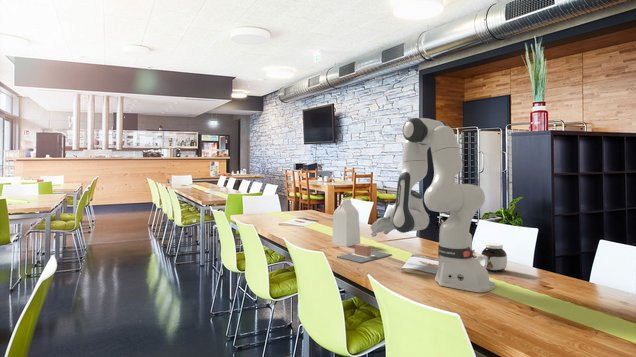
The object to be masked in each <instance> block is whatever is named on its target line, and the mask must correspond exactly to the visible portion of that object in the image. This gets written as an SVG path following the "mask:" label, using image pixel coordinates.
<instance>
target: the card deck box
mask: <svg viewBox="0 0 636 357" xmlns="http://www.w3.org/2000/svg"><path fill="white" fill-rule="evenodd" d="M371 250H372V245H370V244H369V245H368V244H364V243H361V242H360V243H359V244H355V245H354V252H355V254H357V255H361V256H366V257H367V256H371Z"/></svg>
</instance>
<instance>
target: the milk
mask: <svg viewBox="0 0 636 357" xmlns="http://www.w3.org/2000/svg"><path fill="white" fill-rule="evenodd" d="M332 216H333V217H332V235H331V236H332V238H331V244H332V245H337V246H341V247H352V246H355V244H359V243H360V244H361V232H360V230H361V229H360V214H359V211H358V209H357V208H356V207H355V205H353V204H352V200H351V198H348V199H347V198H346V199H341V202H340V204H339V206H337V208H335V210H334V211H333V215H332Z"/></svg>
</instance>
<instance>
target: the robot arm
mask: <svg viewBox="0 0 636 357" xmlns="http://www.w3.org/2000/svg"><path fill="white" fill-rule="evenodd" d="M402 135H403V137H404V139H405V141H404V144H403V146H402V147H403V148H402V160H401V162H402V166H401V172H400V174H399V177H398V180H397V188H396V195H395V196H396V197H395V203H394V204H392V205H391V206H390V208H389V209H388V210H387V211H386V212H385V216H384V217H379V218H377V219H376V220H375V221H374V222H373V223H372V224H371V225H370V230H371V231H372V233H371V234H370V235H371V237H374V238H375V237H376V236H377V235H378V233H383V234H384V235H388V234H389V233H391V232H392V231H394V230H396V231H397V232H399V233H401V234H402V233H403V234H406V233H409V232H416V231H423V230H425V229H427V228H428V226H429V224H430V216H429V214H428V212H427V211H426V209H425V207H426V208H427V209H428V210H429V211H432V212H436V213H437V212H438V213H449V216H448V217H447V219H446V220H445V221H444V222H442V223H441V224H440V226H439V244H438V249H437V250H438V252H437V254H438V265H437V270H436V271H437V272H436V274H435V278H434V280H435V281H436V283H438V285H439V286H441V287H447V288H451V289H458V290H463V291H468V292H472V293H473V292H474V293H487V292H489V291H492V290H493V289H495V288H496V283H495V282H494V281H490V276H489V271H487V269H486V268H485V267H483V266H482V265H481V264H480V263H479V262H478V261H477V260H476V259H475V257H474V253H475V251H476V250H475V249H472V250H471V249H470V247H469V233H470V230H471V229H470V228H471V224H472V220H473V218H474V216H475V215H476V213H477V212H478V210H480V208H482V207H483V205H484V203H485V201H486V200H485V199H486V196H485V191H483V188H481V187H480V185H479V186H478V185H476V184H471V183H456V176H457V175H458V174H459V173H460V172H461V171H462V170H463V160H462V155H461V150H460V147H459V143H458V139H457V137H456V134H455V132H454V130H453V128H452V127H450V126H449V124H448V123H446V122H444V121H443V120H435V119H431V118H425V117H421V118H419V117H413V118H412V117H411V118H409V119H407V120H406V121H405V122H404V124H403V126H402ZM429 149H430V152H431V159H432V164H433V172H434V173H433V179H432V181H431V184H430V185H429V186H428V187H427V188H426V190H425V192H424V195H423V196H422V195H421V193H420V192H418V191H416V190H414V189H413V187H414V186H415V185H416V184H417V183H419V182H421V181H422V180H424V179H425V177H426V176H427V175H428V174H427V173H428V166H429V165H428V150H429ZM423 202H424V203H423ZM424 205H425V206H424Z"/></svg>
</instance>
